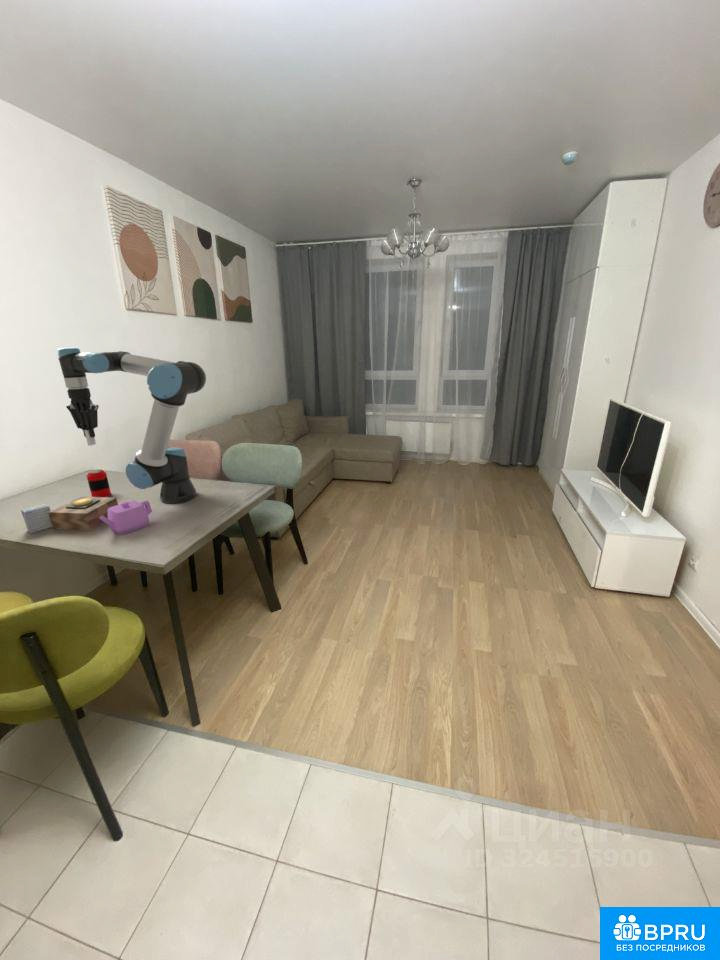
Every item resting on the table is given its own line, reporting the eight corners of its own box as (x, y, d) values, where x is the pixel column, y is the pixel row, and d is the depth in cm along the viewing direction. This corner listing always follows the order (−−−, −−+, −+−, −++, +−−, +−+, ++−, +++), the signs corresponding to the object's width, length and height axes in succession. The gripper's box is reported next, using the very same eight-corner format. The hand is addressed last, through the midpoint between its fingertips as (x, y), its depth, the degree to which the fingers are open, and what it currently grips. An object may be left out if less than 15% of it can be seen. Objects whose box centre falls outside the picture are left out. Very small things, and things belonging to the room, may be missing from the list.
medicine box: (52, 523, 158) (45, 503, 155) (55, 526, 155) (49, 505, 152) (27, 530, 152) (20, 509, 149) (30, 533, 149) (23, 512, 146)
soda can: (109, 497, 184) (103, 472, 180) (90, 500, 181) (83, 474, 177) (112, 492, 190) (106, 468, 186) (94, 494, 188) (87, 470, 184)
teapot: (110, 540, 143) (103, 514, 140) (98, 532, 149) (91, 507, 146) (159, 522, 157) (154, 498, 153) (146, 516, 163) (141, 492, 159)
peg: (100, 517, 162) (95, 498, 159) (88, 524, 156) (83, 504, 153) (86, 517, 162) (81, 498, 160) (75, 523, 157) (69, 504, 154)
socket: (120, 513, 166) (116, 496, 163) (90, 530, 151) (85, 512, 148) (85, 512, 168) (80, 495, 165) (53, 528, 153) (47, 510, 150)
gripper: (99, 386, 164) (112, 442, 172) (70, 387, 166) (85, 442, 174) (85, 388, 157) (99, 447, 165) (55, 389, 159) (71, 446, 167)
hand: (92, 444), depth 169 cm, fingers closed
